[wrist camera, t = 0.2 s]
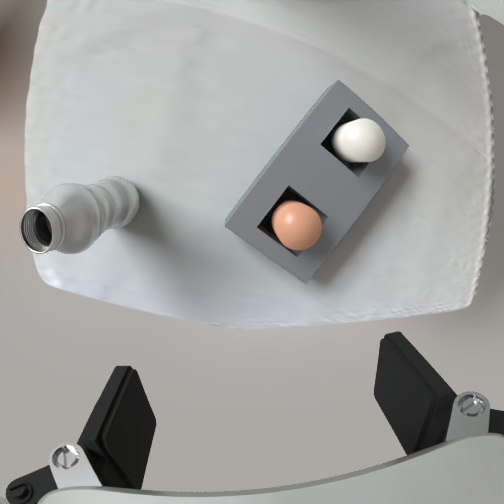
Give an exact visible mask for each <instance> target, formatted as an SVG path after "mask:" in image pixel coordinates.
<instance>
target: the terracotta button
mask: <svg viewBox="0 0 504 504" xmlns="http://www.w3.org/2000/svg"><path fill="white" fill-rule="evenodd" d="M271 225H272V228H273V230H274V232H275V233H276V235H277V236H278V238H279V239H280V241H281V242H282V243H283V244H284V245H285V246H286V247H288V248H290V249H293V250H304V249H307V248H309V247H311V246H312V245H314V244H315V243H316V242H317V240H318V239H319V237H320V234H321V230H322V223H321V219H320V217H319V215H318V214H317V212H316V211H315V210H314V209H312V208H310V207H309V206H307V205H305V204H303V203H301V202H299V201H296V200H286V201H283V202H281V203H280V204H278V205H277V206H276V207H275V209H274V210H273V212H272V215H271Z"/></svg>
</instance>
